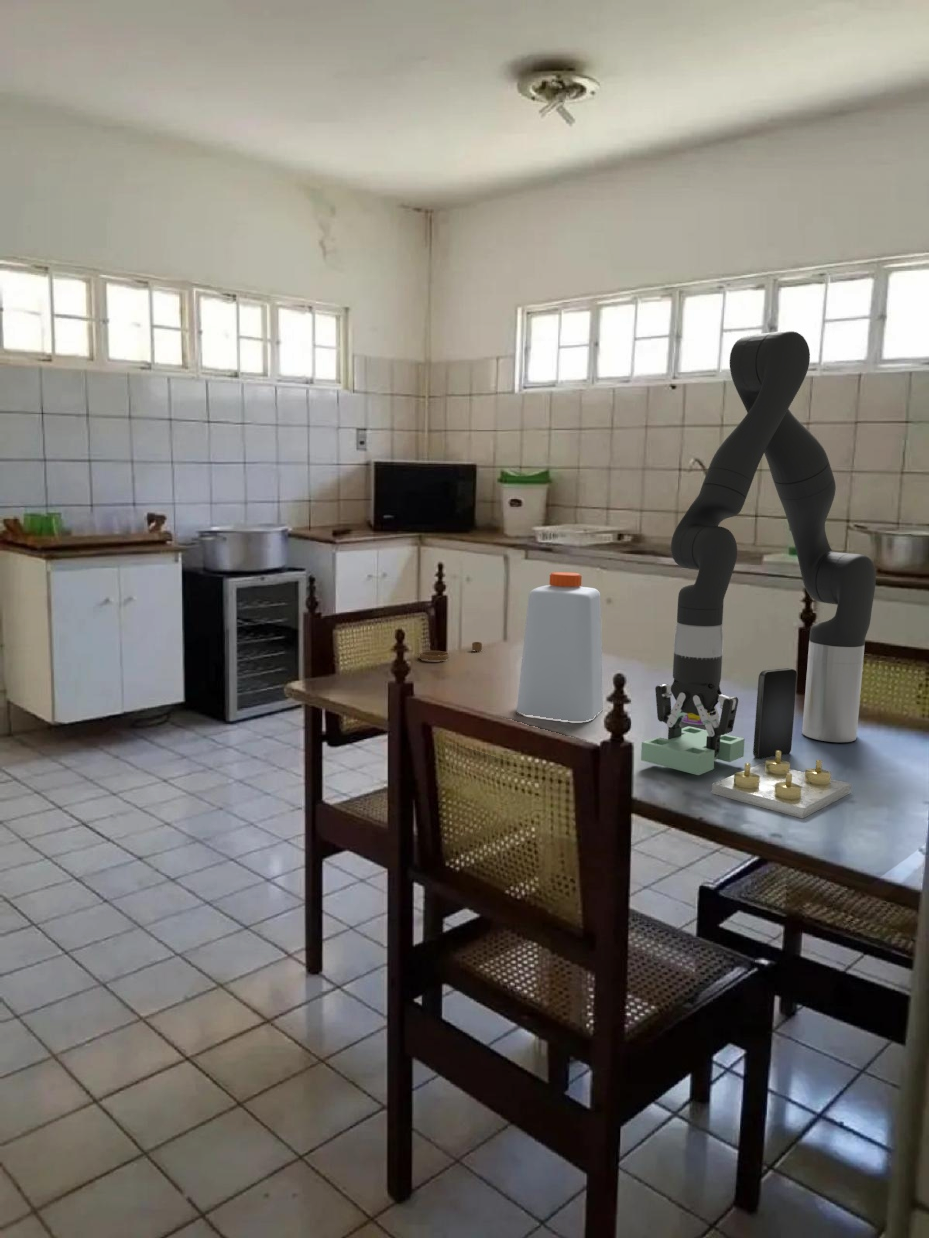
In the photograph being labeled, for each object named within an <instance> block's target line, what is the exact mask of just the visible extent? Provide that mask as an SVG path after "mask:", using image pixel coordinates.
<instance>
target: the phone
mask: <svg viewBox="0 0 929 1238" xmlns="http://www.w3.org/2000/svg"><path fill="white" fill-rule="evenodd" d="M797 681H798V672H797V671H796V670H795V669H793V668H788V667H787V668H777V669H767V670H762V671H760V673H759V675H758V681H757V694H756V695H757V696H756V705H755V706H756V709H755V720H754V722H755V723H754V733H753V734H754V735H753V749H752V754H753V757H754V758H756V759H759V760H762V759H768V758H769V759H770V758H773V757H776V751H781V756H784V755H789V754H791V752H792V747H793V746H792V744H793V732H794V718H795V706H796V696H797V695H796V694H797V683H798V682H797Z"/></svg>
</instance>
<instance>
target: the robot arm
mask: <svg viewBox="0 0 929 1238" xmlns="http://www.w3.org/2000/svg"><path fill="white" fill-rule="evenodd" d="M729 354H730V355H729V371H730V374H731V375H730V376H731V378H732V382H733V385H734V388H735V389H736V392H737V394H738V396H739V398H740V401H741V402H742V405H743V406H744V408H745V411H746V413H747V414H746V415H745V416H744V417H743V419H742V420H741V421H740V422H739V424H738V425H737V426H736V427H735V428H734V429H733V430H732V431H731V433H729V435H728V436H727V437H726V439H725V440H723V442H722V443H721V445H720V446H719V447H718V448H717V450H716V452H715V453H714V455H713V457H712V459H711V461H710V463H709V466H708V469H707V472H706V474H705V477H704V479H703V482H702V485H701V487H700V491H699V494H698V495H697V497H696V498H695V499H694V501H693V502H692V503H691V505H690V506H689V507H688V509H687V511H686V513H684V515H683V516H682V518H681V519H680V521H679V523H678V525H677V526H676V528H675V530H674V531H673V533H672V538H671V544H670V552H671V553H670V554H671V556H672V559H673V561H674V563H676V565H678V566H679V567H681V568H684V569H689V570H698V573H697V576H696V579H695V582H694V584H689V585H685V586H683V587H682V588H681V589H680V590H679V592H678V595H677V597H678V598H677V612H676V613H677V615H676V626H675V627H676V628H675V632H674V640H673V641H674V642H673V660H672V661H673V662H672V678H673V681H672V684H669V683H663V684H658V685H656V686H655V700H656V701H655V703H656V714H657V720H658V722H661V723H662V722H663V723H665V725H667V727H668V729H667V730H668V731H667V732H668V733H667V739H672V738H675V737H678V736H681V732H682V728H683V726H681V724H682V720H683V718H684V716H685V715H686V714H687V713H693V714H695V715H698V716H700V718H701V721H702V723H704V724H705V725H704V727H705V730H707V733H708V735H709V736H707V741H706V746H707V747H706V748H707V749H711V750H715V753H714V758H715V757H716V755H718V754H719V752H720V737H721V735H724V734H726V735H728V734H730V733H732V732H733V729H734V724H735V720H736V714H737V711H738V710H737V709H738V705H739V697H737V696H735V695H733V696H729V695H724V694H722V691H721V687H720V685H721V680H722V666H723V652H724V651H723V649H724V633H723V621H724V620H723V619H724V617H723V616H724V602H725V601H724V600H725V597H726V593H727V590H728V588H729V585H730V582H731V579H732V575H733V573H734V569H735V566H736V564H737V558H738V545H737V540H736V538H735V536H734V534H733V533H732V532H731V530H729V529H728V528H726V527H723V526H719V525H720V524H721V523H722V521H724V520H727V519H731V518H732V517H736V516H738V515H739V514H740V513H741V511H742V509H743V507H744V505H745V503H746V500H747V497H748V494H749V491H750V488H751V486H752V483H753V481H754V480H753V479H754V477H755V475H756V472H757V469H758V467H759V465H760V462H761V460H762V458H763V456H765V458H766V461H767V464H768V469H769V471H770V473H771V478H772V481H773V484H774V486H775V489H776V493H777V496H778V498H779V501H780V502H781V506H782V508H783V510H784V513H785V517H786V520H787V523H788V525H789V529H790V533H791V536H792V539H793V543H794V548H795V551H796V555H797V562H798V566H799V570H800V575H801V578H802V583H803V586H804V588H805V591H806V592H807V594H808V595H809V597H810V598H811V599H812V600H814V601H816V602H819V603H823V604H829V605H837V606H836V611H835V613H834V616H833V617H832V618H831V619H829V620H825V621H821V622H817V623H815V624H813V625H812V626H811V628H810V630H809V641H808V654H807V667H806V668H807V669H806V676H805V677H806V678H805V679H806V680H805V691H804V692H805V693H804V703H803V704H804V705H803V715H802V716H803V718H802V729H801V730H802V731H801V733H802V735H803V736H805V737H807V738H810V739H813V740H818V741H822V742H823V741H824V742H829V743H830V742H831V743H850V742H853V741H856V739H857V736H858V733H857V732H858V723H859V713H860V703H861V702H860V701H861V689H862V680H863V679H862V677H863V668H864V667H863V666H864V657H865V655H864V653H865V644H866V636H867V634H868V631H869V628H870V624H871V619H872V609H873V604H874V597H875V591H876V584H877V583H876V582H877V579H876V578H877V575H876V568H875V564H874V562H873V560H872V559H871V558H870V557H869V556H867V555H863V554H861V553H860V554H859V553H849V552H847V553H846V552H836V551H834V550H833V549H832V547H831V546H830V543H829V541H828V537H827V534H826V533H827V532H826V527H825V526H826V521H827V518H828V516H829V513H830V510H831V507H832V505H833V502H834V500H835V496H836V487H837V485H836V481H835V476H834V473H833V471H832V467H831V463H830V461H829V458H828V455H827V452H826V450H825V448H824V447H823V446H822V444H821V443H820V442H819V440H818V439H817V438H816V437H815V436H814V435H813V434H812V433H811V431H809V430H808V429H807V427H806V426H804V424H802V422H801V421H799V420H798V419H797V418H796V417H795V416H794V414H793V413H792V411H791V410H790V409H789V408H790V406H791V405H792V403H793V401H794V399H795V398H796V396H797V394H798V392H799V390H800V388H801V386H802V385H803V383H804V380H805V378H806V376H807V373H808V370H809V368H810V367H809V366H810V360H811V357H810V356H811V354H810V347H809V344H808V342H807V340H806V338H805V337H804V336H803V335H802V334H801V333H799V332H797V331H794V330H793V331H792V330H783V331H781V330H780V331H774V332H773V331H772V332H767V333H766V332H765V333H756V334H751V335H747V336H743V337H741V338H739V339H737V341H736V342H734V344H733V346H732V348H731V351H730V353H729ZM672 695H673V698H674V699H675V703H674V705H673V707H672V700H671V698H672ZM718 703H720V704H719V708H720V709H721V714H720V715H719V713H718V710H717V705H718ZM708 713H709V714H710V716H709V715H708ZM719 719H720V720H719Z"/></svg>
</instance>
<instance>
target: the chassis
mask: <svg viewBox="0 0 929 1238" xmlns="http://www.w3.org/2000/svg"><path fill="white" fill-rule="evenodd" d="M774 757H775V758H774V759H773V758H771V759H770V758H769V759H766V760H765V762H762V763H760V764H757V765H755V766H752V767H751V763H749V762H745V763H744V770H742V771H737V772H734V774H732V775H731V776H727V777H725V778H722V779H721V780H718V781H716V782H715V781H714V782H713V783H712V784H711V794H713V795H715V796H720V797H723V798H727V799H730V800H731V799H732V800H734V801H738V802H741V803H745V804H749V805H752V806H755V807H760V808H764V809H767V810H771V811H773V812H777V813H781V814H784V815H789V816H791V817H795V818H800V819H802V820H803V819H804V818H806V817H808V816H810V815H812V814H813V813H816V812H818V811H819V810H821V809H823V808H825V807H828V806H829V805H831V804H832V803H835V802H836V801H838V800H841V799H842V798H844V797H846V796H848V795H850V794H851V787H852V783H850V782H847V781H846V782H845V781H841V780H838V779H833V778H831V776H832V774H831V771H828V770H825V769H822V762H823V761H822V760H821V759H816V760H815V768H807V769H805V771H800V770H795V769H792V768H791V764H790V762H789V761H786V760H783V759H782V755H781V751H776V756H774Z"/></svg>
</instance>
